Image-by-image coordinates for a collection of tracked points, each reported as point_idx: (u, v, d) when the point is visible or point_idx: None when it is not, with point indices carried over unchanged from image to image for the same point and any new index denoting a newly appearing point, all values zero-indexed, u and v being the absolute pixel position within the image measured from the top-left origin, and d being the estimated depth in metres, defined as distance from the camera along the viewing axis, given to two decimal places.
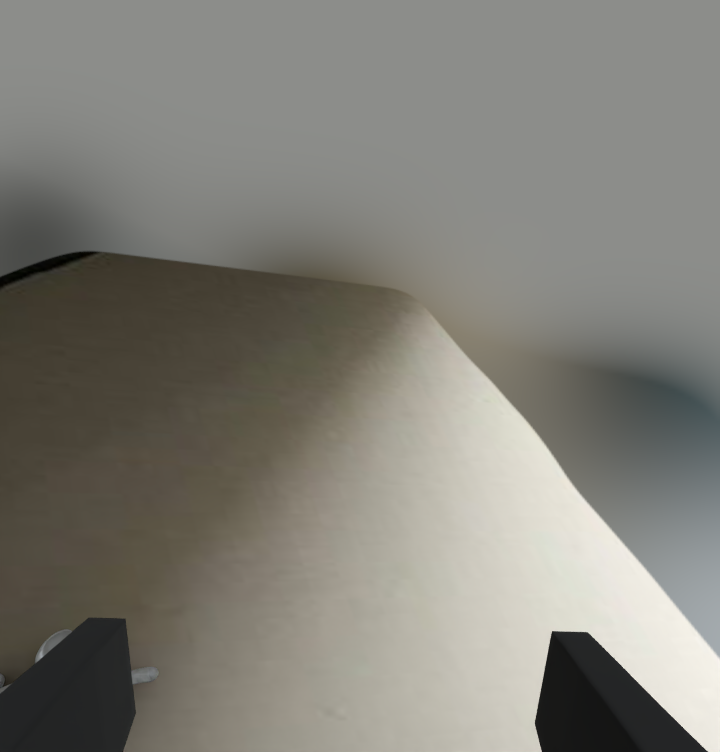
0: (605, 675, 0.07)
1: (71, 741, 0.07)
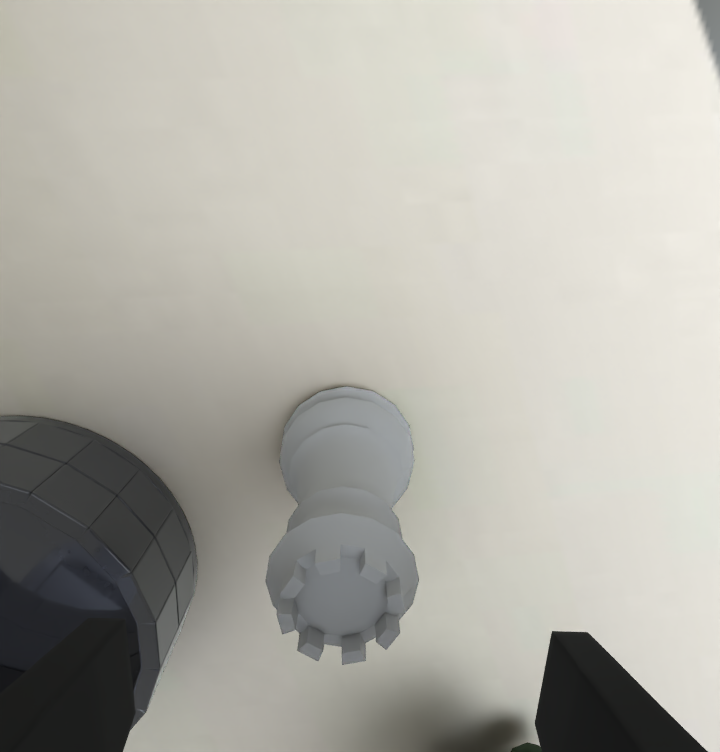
0: (605, 675, 0.07)
1: (71, 741, 0.07)
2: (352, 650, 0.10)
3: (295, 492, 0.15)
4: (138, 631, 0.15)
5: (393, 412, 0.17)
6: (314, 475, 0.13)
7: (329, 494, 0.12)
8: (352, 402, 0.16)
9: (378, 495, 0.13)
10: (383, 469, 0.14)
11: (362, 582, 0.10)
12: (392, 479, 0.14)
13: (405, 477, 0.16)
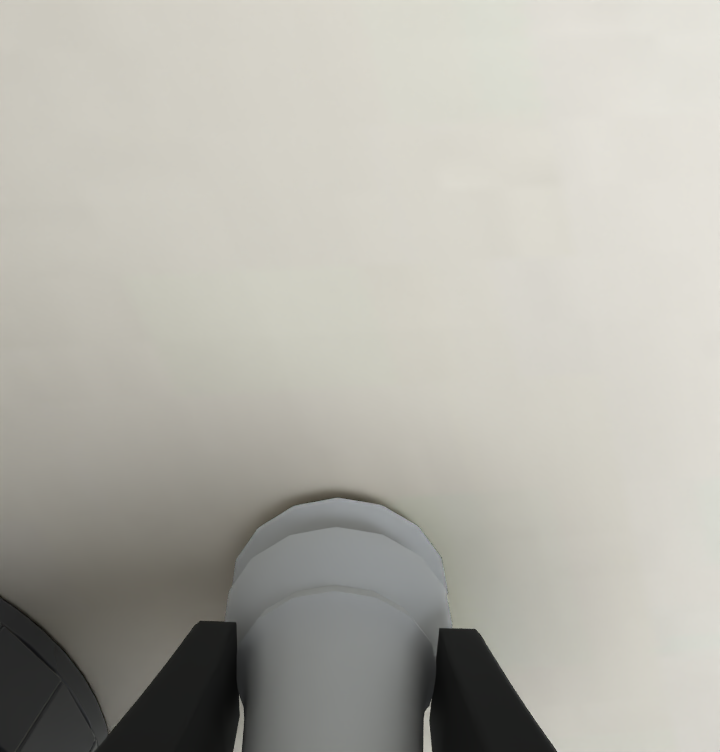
0: (475, 671, 0.07)
1: (205, 745, 0.07)
2: None
3: None
4: None
5: (416, 539, 0.10)
6: (270, 725, 0.07)
7: None
8: (347, 539, 0.09)
9: None
10: (404, 694, 0.07)
11: None
12: (420, 699, 0.08)
13: None
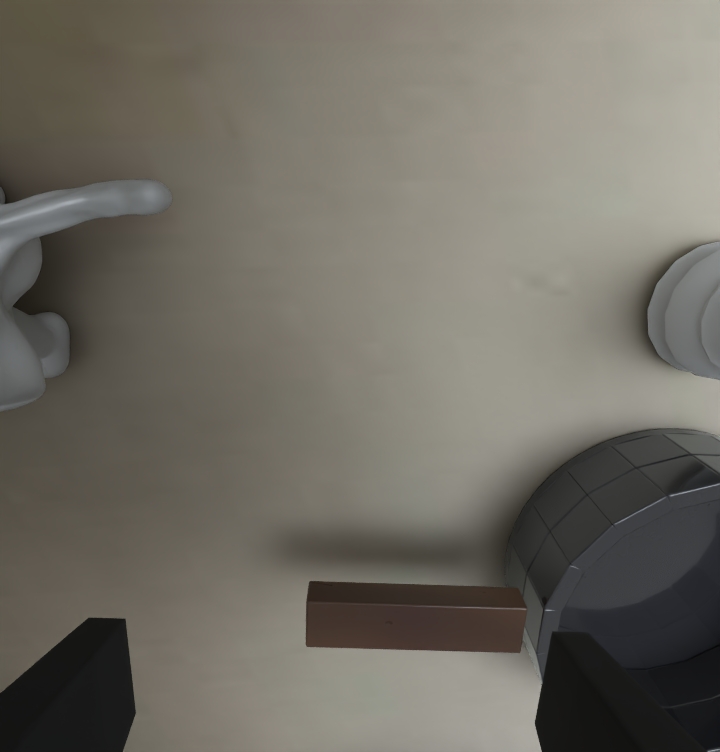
0: (605, 675, 0.07)
1: (71, 741, 0.07)
2: None
3: (707, 335, 0.15)
4: None
5: None
6: None
7: None
8: None
9: None
10: None
11: None
12: None
13: None
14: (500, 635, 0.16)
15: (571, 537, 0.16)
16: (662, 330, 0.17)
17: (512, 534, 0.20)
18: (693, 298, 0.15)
